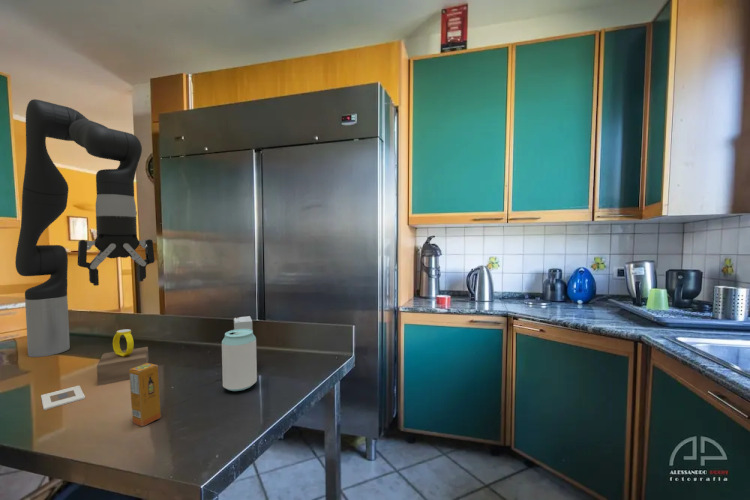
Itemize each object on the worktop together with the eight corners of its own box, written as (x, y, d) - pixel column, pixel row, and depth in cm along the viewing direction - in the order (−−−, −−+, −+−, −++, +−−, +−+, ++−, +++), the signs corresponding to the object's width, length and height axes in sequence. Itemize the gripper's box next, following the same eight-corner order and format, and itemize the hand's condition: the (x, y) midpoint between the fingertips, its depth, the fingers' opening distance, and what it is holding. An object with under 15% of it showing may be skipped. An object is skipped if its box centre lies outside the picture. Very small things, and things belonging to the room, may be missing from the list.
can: (223, 395, 69) (222, 338, 68) (222, 382, 75) (220, 330, 74) (258, 388, 72) (257, 334, 71) (254, 376, 78) (253, 326, 78)
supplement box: (150, 414, 61) (148, 361, 61) (161, 418, 60) (159, 364, 60) (130, 423, 58) (128, 368, 58) (141, 428, 57) (139, 371, 57)
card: (40, 396, 68) (40, 394, 68) (79, 386, 73) (79, 384, 73) (43, 410, 63) (43, 408, 63) (85, 398, 67) (85, 396, 67)
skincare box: (255, 368, 83) (254, 320, 82) (235, 371, 81) (234, 322, 80) (252, 359, 88) (251, 315, 88) (234, 362, 86) (233, 317, 86)
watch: (108, 355, 79) (109, 330, 79) (121, 352, 82) (122, 328, 82) (124, 358, 77) (124, 333, 77) (136, 355, 79) (137, 330, 79)
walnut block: (104, 373, 81) (103, 353, 80) (148, 365, 86) (147, 346, 85) (97, 387, 73) (96, 365, 73) (146, 378, 78) (146, 357, 78)
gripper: (147, 217, 86) (149, 278, 86) (73, 214, 75) (76, 285, 76) (156, 216, 81) (158, 281, 81) (78, 213, 70) (81, 288, 71)
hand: (119, 283), depth 78 cm, fingers open, 8 cm apart
